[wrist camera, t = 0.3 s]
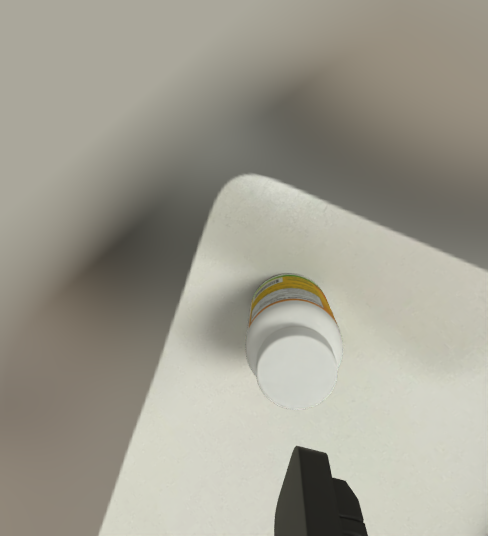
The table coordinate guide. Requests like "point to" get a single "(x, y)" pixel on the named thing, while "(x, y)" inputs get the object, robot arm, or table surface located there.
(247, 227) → the table surface
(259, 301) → the supplement bottle
